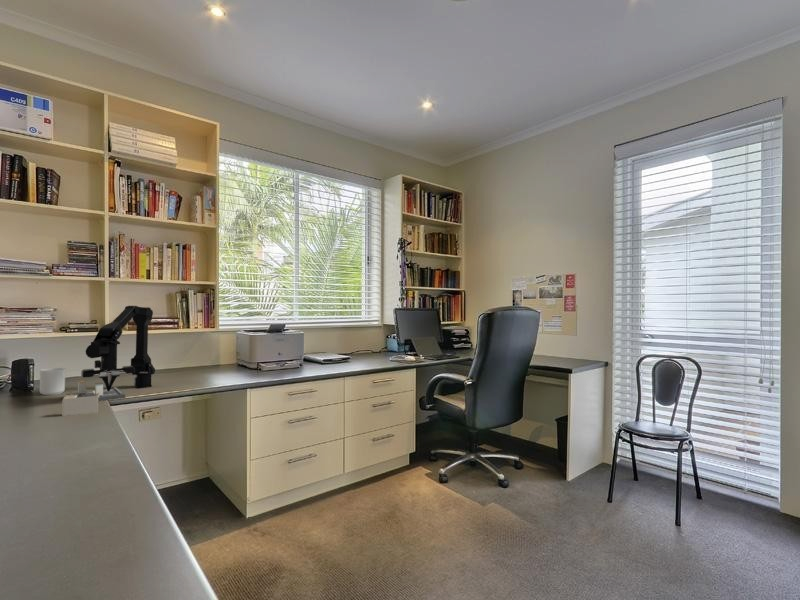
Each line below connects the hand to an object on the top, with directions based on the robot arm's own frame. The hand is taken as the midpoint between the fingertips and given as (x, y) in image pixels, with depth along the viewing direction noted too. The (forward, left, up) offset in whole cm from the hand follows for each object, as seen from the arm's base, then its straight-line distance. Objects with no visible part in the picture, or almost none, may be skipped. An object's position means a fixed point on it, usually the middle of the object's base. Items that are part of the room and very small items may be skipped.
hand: (108, 391), depth 180 cm
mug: (+17, -29, -3) cm, 34 cm away
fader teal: (+3, 0, -1) cm, 4 cm away
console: (+4, -5, -3) cm, 7 cm away
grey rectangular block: (+8, -10, -1) cm, 13 cm away
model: (+12, +24, -4) cm, 27 cm away
